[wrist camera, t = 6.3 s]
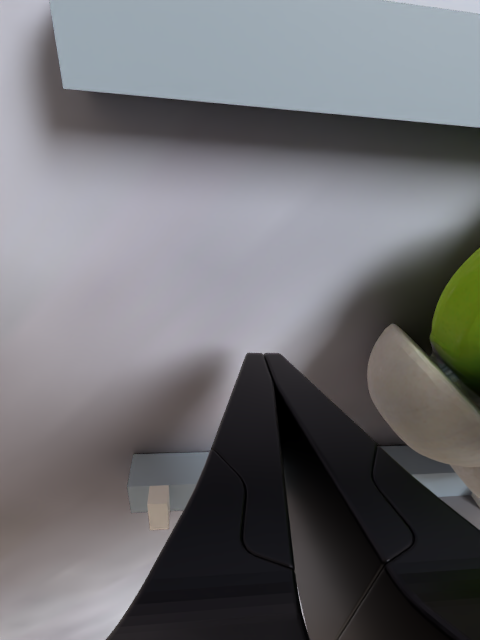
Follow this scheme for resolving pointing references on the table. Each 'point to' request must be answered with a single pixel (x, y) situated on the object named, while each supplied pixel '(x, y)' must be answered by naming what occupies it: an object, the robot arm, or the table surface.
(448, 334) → the multicoloured petal shapes
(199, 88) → the rail
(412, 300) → the table surface
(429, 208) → the table surface
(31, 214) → the table surface
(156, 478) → the rail
